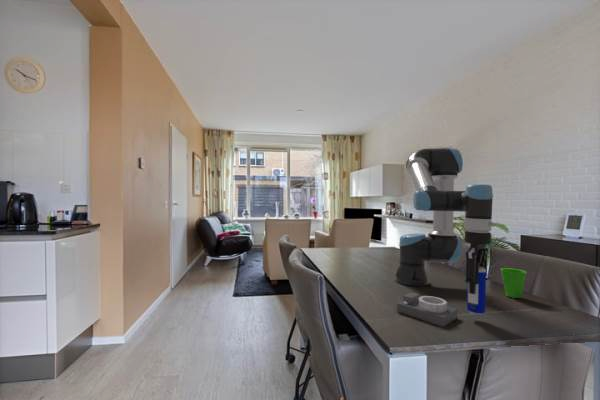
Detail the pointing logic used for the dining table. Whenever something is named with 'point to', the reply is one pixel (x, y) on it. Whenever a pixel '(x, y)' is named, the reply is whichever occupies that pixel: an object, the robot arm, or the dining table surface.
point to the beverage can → (479, 294)
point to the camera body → (427, 309)
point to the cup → (513, 281)
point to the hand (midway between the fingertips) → (476, 300)
